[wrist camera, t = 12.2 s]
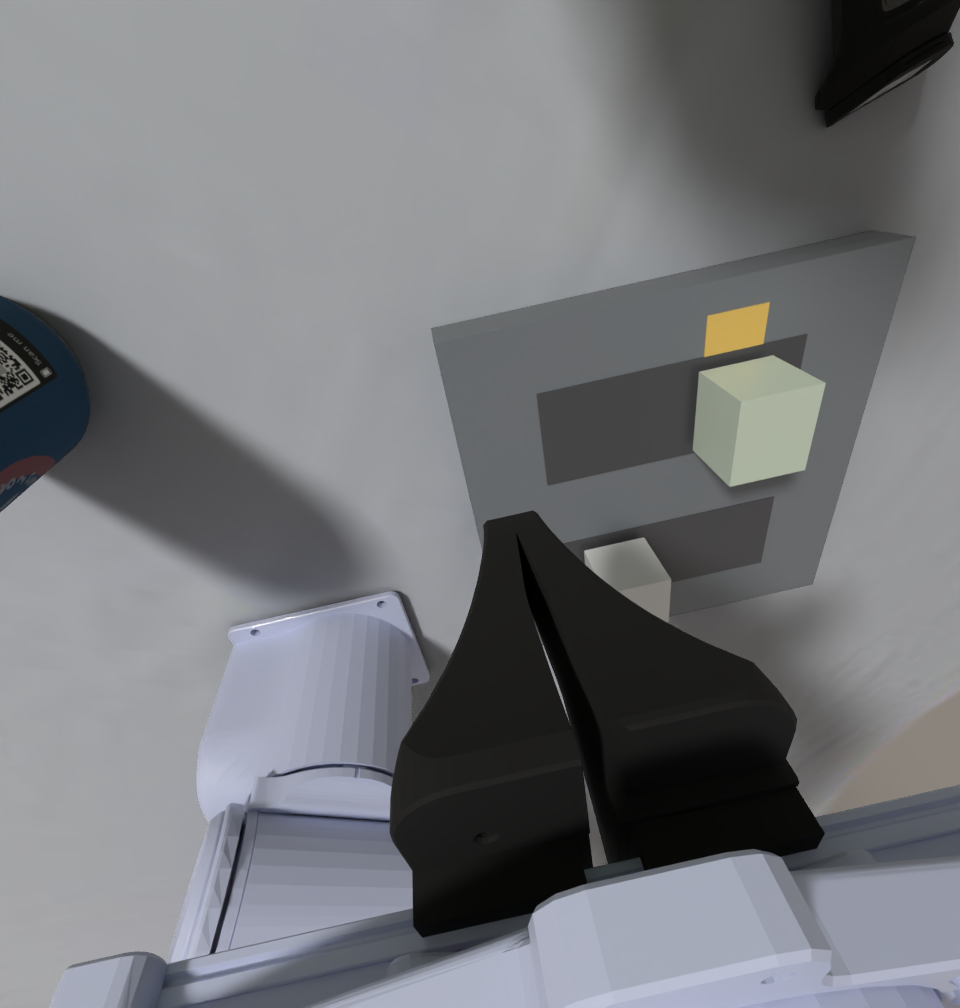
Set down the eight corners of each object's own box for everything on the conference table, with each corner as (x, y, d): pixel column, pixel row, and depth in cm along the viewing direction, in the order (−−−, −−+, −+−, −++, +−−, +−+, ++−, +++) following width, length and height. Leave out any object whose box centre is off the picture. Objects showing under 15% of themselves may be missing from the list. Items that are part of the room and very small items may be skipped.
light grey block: (587, 601, 26) (606, 646, 24) (584, 550, 24) (604, 594, 22) (643, 588, 26) (667, 632, 24) (644, 537, 24) (671, 579, 22)
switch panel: (500, 626, 30) (506, 653, 28) (431, 328, 20) (434, 344, 18) (790, 561, 30) (813, 584, 29) (873, 230, 20) (917, 236, 18)
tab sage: (692, 450, 22) (729, 486, 19) (699, 371, 20) (741, 401, 17) (759, 435, 22) (805, 469, 19) (772, 355, 20) (825, 383, 17)
